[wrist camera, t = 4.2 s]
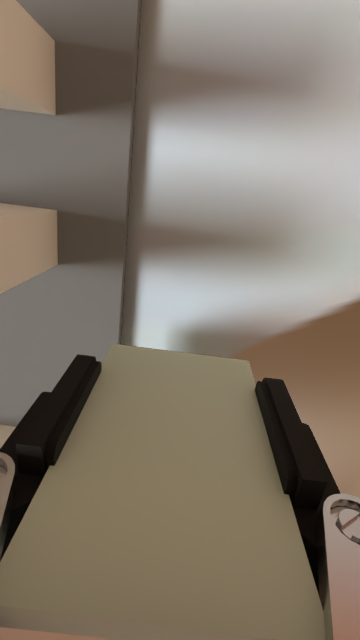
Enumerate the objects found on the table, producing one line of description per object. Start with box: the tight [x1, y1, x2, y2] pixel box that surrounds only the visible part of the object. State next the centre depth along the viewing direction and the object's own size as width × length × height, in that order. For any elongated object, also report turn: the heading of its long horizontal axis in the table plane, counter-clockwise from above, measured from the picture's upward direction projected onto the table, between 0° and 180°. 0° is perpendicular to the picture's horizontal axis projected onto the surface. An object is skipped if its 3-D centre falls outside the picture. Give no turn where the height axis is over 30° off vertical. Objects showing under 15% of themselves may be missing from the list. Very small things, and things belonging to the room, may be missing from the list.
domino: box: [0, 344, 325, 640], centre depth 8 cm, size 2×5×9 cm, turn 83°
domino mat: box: [0, 0, 141, 427], centre depth 15 cm, size 26×10×1 cm, turn 173°
